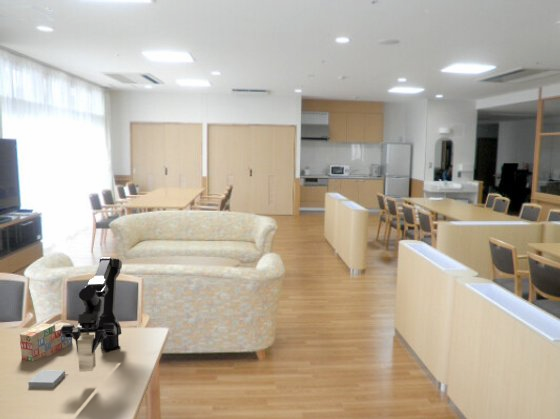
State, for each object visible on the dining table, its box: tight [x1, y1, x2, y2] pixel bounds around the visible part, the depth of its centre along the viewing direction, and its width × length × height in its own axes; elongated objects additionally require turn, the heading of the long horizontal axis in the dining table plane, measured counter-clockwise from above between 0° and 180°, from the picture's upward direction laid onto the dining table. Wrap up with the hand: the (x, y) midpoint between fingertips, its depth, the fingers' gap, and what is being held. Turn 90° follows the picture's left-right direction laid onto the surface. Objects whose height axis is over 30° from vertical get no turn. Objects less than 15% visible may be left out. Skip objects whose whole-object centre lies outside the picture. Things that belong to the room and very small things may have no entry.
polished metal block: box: [77, 333, 97, 373], centre depth 172 cm, size 4×4×12 cm
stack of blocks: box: [19, 322, 73, 362], centre depth 201 cm, size 21×6×12 cm, turn 161°
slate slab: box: [28, 369, 66, 389], centre depth 174 cm, size 9×9×2 cm
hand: (85, 353), depth 170 cm, fingers closed on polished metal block, 4 cm apart
